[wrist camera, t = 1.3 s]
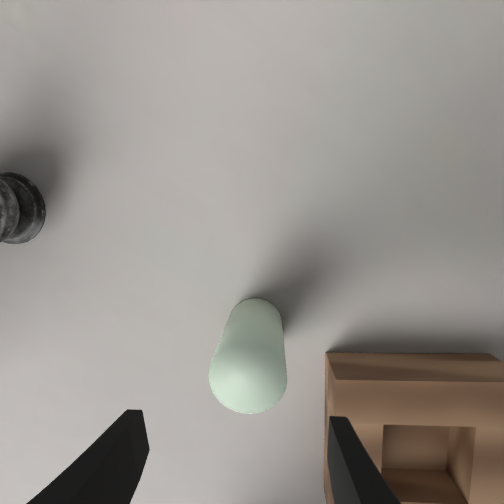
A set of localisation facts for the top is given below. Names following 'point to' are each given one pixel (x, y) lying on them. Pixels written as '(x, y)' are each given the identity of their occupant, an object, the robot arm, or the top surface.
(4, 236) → the salt shaker
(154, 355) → the top surface
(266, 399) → the peg
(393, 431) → the socket block
